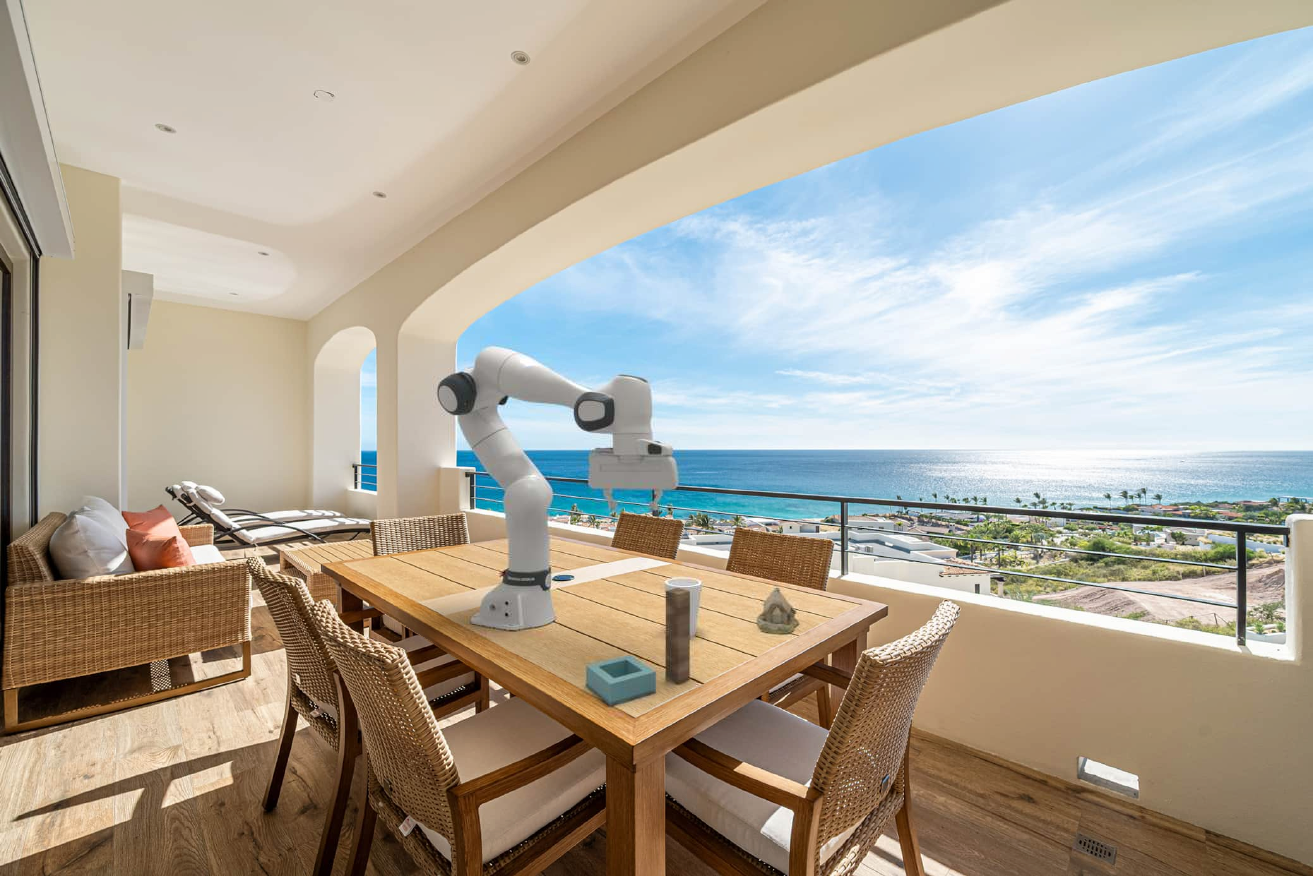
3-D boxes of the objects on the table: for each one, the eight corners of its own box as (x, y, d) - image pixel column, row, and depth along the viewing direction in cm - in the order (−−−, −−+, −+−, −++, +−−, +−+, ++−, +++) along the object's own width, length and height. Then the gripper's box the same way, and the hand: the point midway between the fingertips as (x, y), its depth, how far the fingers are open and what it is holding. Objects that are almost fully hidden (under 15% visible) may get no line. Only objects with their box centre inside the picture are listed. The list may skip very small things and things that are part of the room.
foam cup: (687, 642, 130) (687, 589, 130) (657, 634, 135) (657, 583, 135) (708, 632, 137) (708, 581, 137) (678, 624, 143) (678, 575, 143)
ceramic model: (757, 616, 151) (757, 580, 151) (798, 619, 148) (798, 583, 148) (754, 633, 137) (754, 594, 137) (799, 636, 134) (799, 597, 135)
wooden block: (665, 679, 109) (665, 591, 109) (676, 674, 112) (677, 587, 112) (678, 685, 107) (678, 594, 107) (689, 679, 109) (689, 590, 109)
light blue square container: (586, 685, 106) (586, 665, 106) (629, 674, 112) (629, 654, 112) (610, 706, 98) (610, 684, 98) (655, 692, 103) (655, 671, 103)
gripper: (583, 447, 118) (583, 510, 118) (673, 447, 113) (674, 512, 113) (593, 447, 125) (594, 507, 124) (679, 447, 120) (680, 509, 119)
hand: (633, 509), depth 119 cm, fingers open, 8 cm apart
